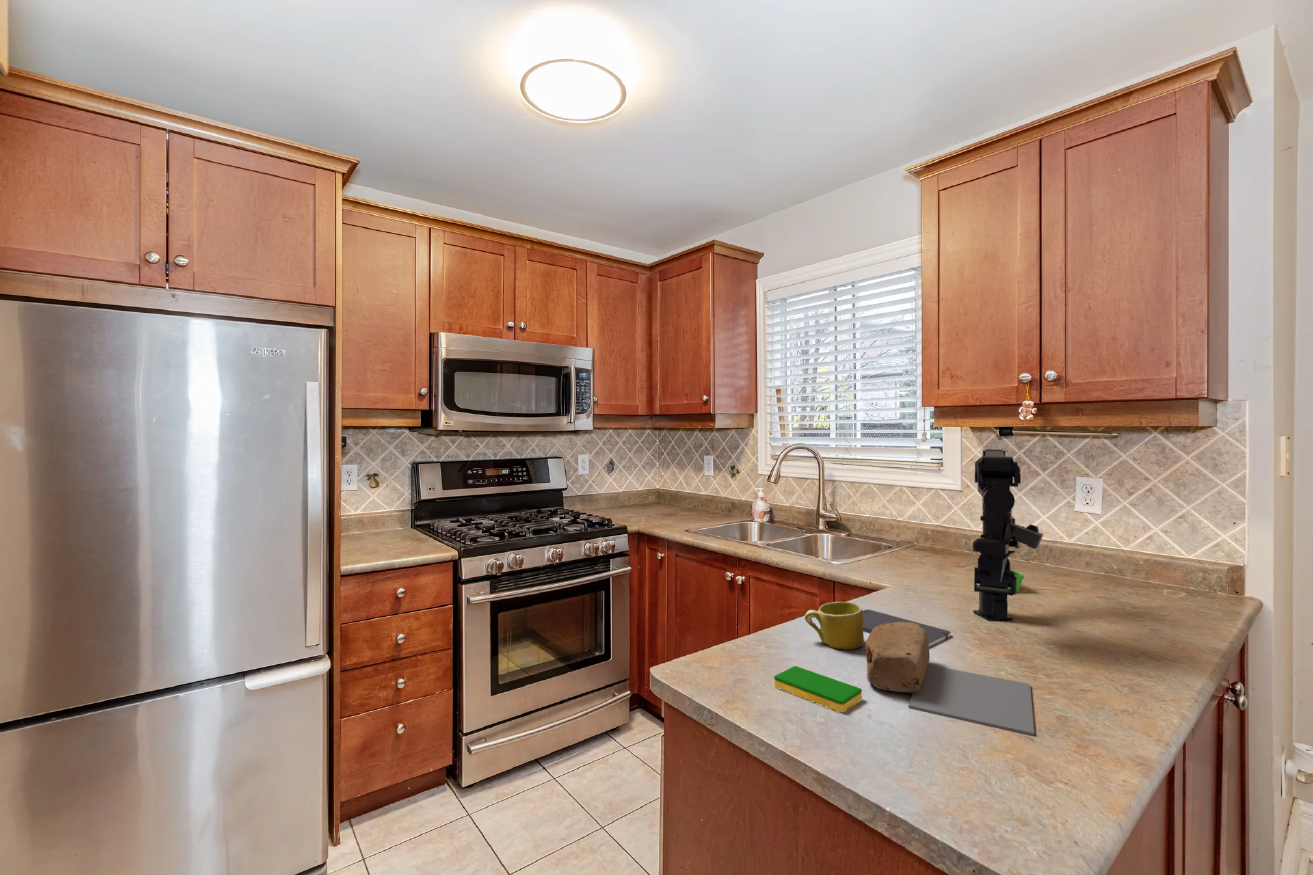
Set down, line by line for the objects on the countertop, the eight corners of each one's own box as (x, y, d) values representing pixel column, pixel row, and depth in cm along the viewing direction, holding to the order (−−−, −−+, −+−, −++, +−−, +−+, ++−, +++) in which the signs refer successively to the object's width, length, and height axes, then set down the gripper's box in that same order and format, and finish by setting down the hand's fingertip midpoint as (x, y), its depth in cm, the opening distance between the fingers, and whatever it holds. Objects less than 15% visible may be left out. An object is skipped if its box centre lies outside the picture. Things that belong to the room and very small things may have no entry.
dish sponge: (841, 715, 99) (841, 701, 99) (773, 688, 109) (773, 675, 109) (862, 702, 104) (862, 688, 104) (794, 677, 114) (795, 664, 114)
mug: (869, 628, 134) (860, 590, 131) (870, 658, 125) (860, 618, 122) (815, 631, 139) (805, 595, 136) (811, 661, 129) (800, 622, 127)
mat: (923, 665, 118) (923, 663, 118) (1029, 685, 109) (1030, 683, 109) (908, 707, 101) (908, 705, 101) (1034, 735, 92) (1034, 733, 92)
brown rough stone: (930, 623, 120) (921, 657, 102) (931, 659, 120) (923, 701, 102) (873, 617, 125) (856, 649, 108) (875, 652, 125) (857, 690, 108)
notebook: (837, 625, 143) (924, 652, 126) (838, 619, 143) (924, 644, 126) (867, 614, 151) (952, 638, 134) (867, 608, 151) (952, 631, 134)
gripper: (1032, 515, 121) (1033, 593, 120) (1045, 512, 135) (1046, 582, 134) (971, 512, 128) (972, 585, 127) (990, 510, 142) (991, 576, 141)
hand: (997, 582), depth 132 cm, fingers closed
